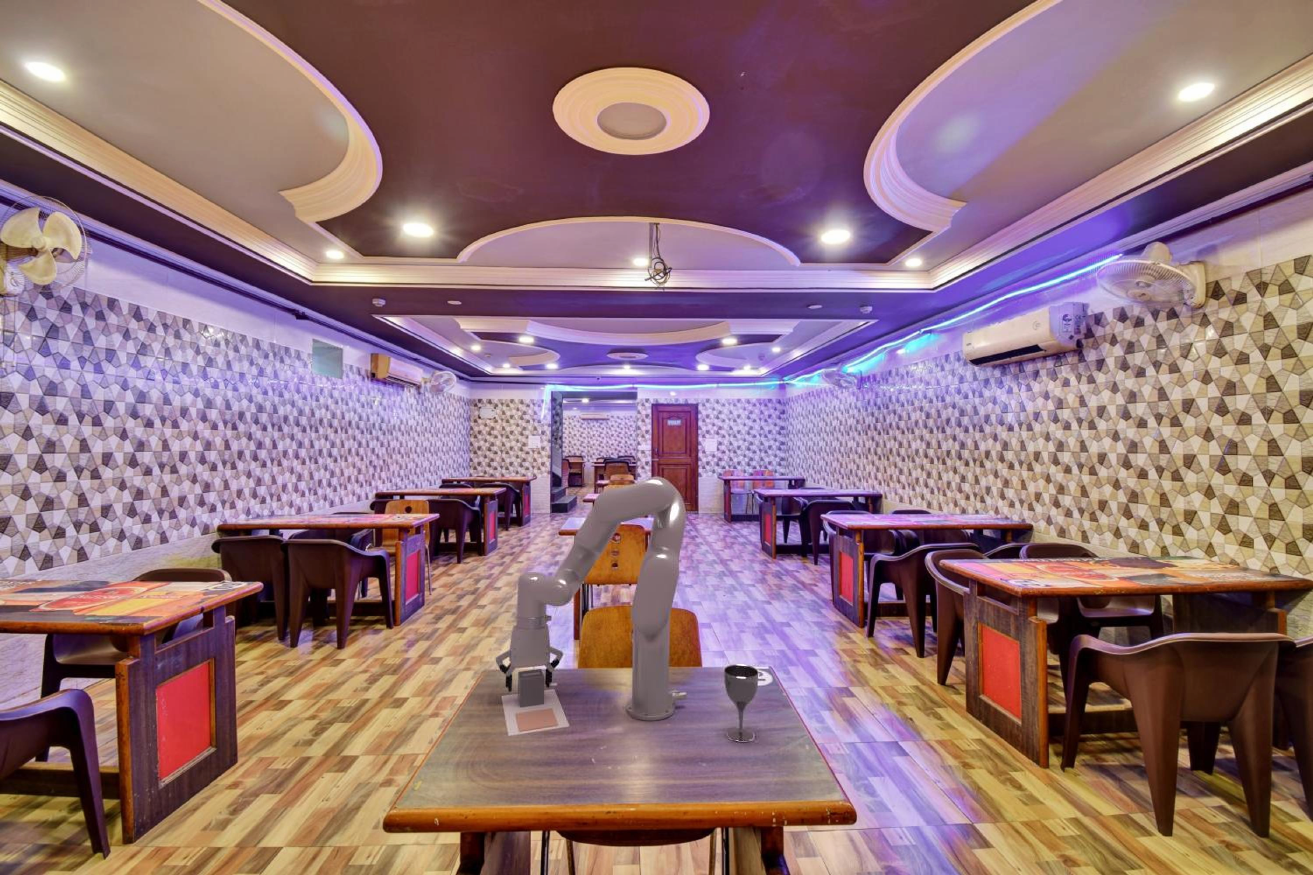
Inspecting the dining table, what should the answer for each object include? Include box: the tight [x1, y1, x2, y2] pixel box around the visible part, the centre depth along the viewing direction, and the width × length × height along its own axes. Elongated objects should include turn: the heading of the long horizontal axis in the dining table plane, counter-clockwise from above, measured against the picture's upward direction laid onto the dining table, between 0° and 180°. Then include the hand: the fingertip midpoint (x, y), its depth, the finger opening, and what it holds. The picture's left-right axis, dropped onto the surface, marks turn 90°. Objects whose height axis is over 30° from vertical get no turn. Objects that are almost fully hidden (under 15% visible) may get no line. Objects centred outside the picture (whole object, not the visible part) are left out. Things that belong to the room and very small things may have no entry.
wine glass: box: [723, 663, 759, 742], centre depth 131 cm, size 8×8×15 cm
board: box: [501, 688, 570, 737], centre depth 139 cm, size 14×22×2 cm, turn 20°
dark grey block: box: [517, 668, 545, 708], centre depth 145 cm, size 6×6×7 cm
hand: (528, 687), depth 145 cm, fingers open, 9 cm apart
